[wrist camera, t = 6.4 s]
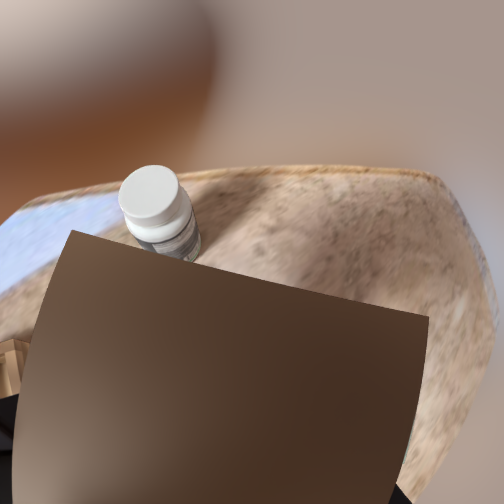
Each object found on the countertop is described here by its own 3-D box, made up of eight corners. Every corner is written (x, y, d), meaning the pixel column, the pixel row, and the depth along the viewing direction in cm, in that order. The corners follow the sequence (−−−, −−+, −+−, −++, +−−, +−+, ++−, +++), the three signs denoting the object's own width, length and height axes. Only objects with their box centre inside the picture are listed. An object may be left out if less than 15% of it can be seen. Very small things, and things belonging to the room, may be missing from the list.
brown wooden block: (264, 443, 12) (327, 610, 1) (176, 421, 12) (13, 514, 1) (285, 361, 14) (429, 316, 3) (199, 340, 14) (71, 229, 3)
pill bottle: (144, 230, 25) (110, 172, 17) (194, 214, 26) (177, 150, 18) (154, 278, 23) (115, 232, 16) (208, 262, 24) (192, 208, 16)
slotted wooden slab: (108, 525, 14) (90, 542, 10) (39, 518, 12) (19, 528, 9) (43, 344, 20) (16, 337, 17) (-14, 359, 19) (-39, 354, 15)
